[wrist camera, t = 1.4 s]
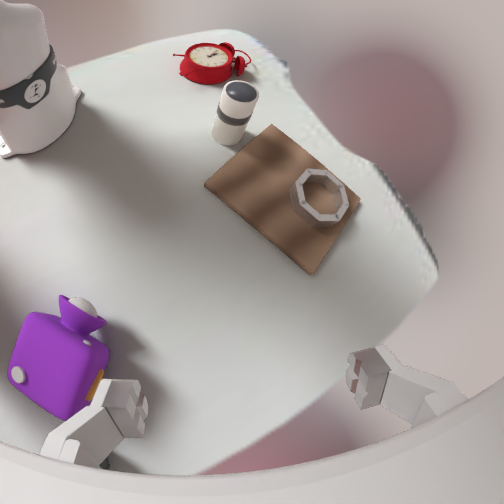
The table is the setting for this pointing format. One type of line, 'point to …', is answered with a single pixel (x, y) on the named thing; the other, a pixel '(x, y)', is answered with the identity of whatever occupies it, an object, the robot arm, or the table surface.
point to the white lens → (234, 112)
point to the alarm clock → (211, 63)
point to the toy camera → (60, 358)
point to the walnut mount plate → (279, 196)
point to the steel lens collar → (306, 210)
